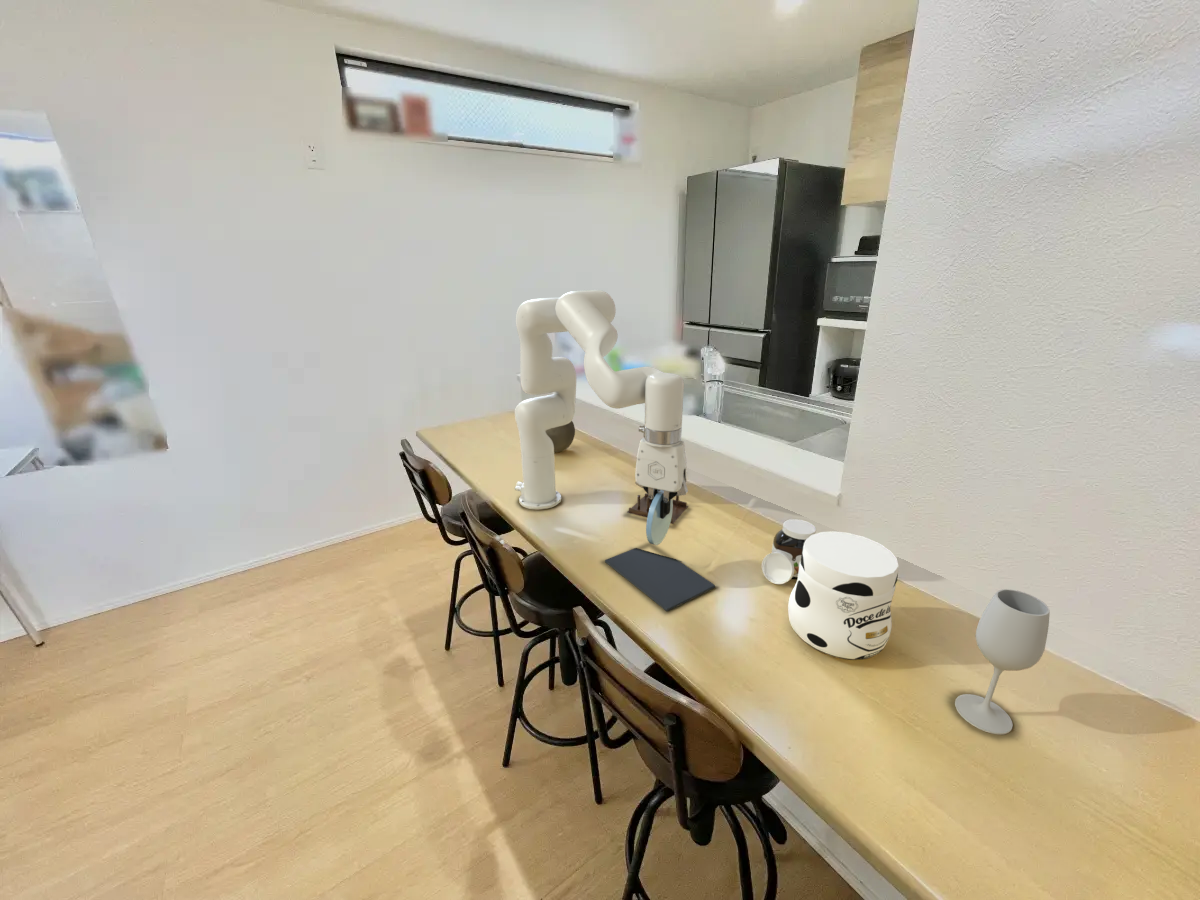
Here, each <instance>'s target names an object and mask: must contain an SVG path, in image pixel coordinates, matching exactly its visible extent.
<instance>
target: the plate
mask: <svg viewBox="0 0 1200 900" xmlns="http://www.w3.org/2000/svg"><path fill="white" fill-rule="evenodd" d="M663 494H664V490H660V491H659V492H658V493H657V494H656V495H655V497H654V499H653V501H652V503H651V506H650V509H649V513H648V517H646V523H645V524H646V526H645V529H646V530H645V534H646V535H645V536H646V539H647V542H648V543H649V544H650V545H654V546H658V545H661V543H662V542H664V539H665V538H666V536H667V534H668V532H669V529H670V526H671V523H670V522H671V518H672V511H673V500H674V498H672V499H671V504H670V513H669V514H667V515H666V517H665V518H664V519H662V518H660V504H661V501H662V500H663Z"/></svg>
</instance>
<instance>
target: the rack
mask: <svg viewBox="0 0 1200 900" xmlns="http://www.w3.org/2000/svg"><path fill="white" fill-rule="evenodd" d="M659 491H660V490H659ZM650 506H651V499H650V498H649V496H648V494H647V492H645V493H644V495H643V497H642V498H641V494H637V501H636V503H635V504H634V505H633V506H631V507H629V508H628V510H627V511H626V513H627V514H630V515H636V516H639V517H642V518H643V517H644V518H647V517H648V513H649V509H650ZM688 508H689V505H688V502H686V501H682V500H680V496H675V499H673V511H672V518H671V522H670V525H671V524H673V525H674V524H675V523H676V522H677V520H678V519H679V518H680V517H681V516H682V515H683V514H684V512H685V511H686V510H687V509H688Z"/></svg>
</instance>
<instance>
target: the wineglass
mask: <svg viewBox="0 0 1200 900" xmlns="http://www.w3.org/2000/svg"><path fill="white" fill-rule="evenodd" d="M1050 615H1051V614H1050V608H1049V606H1048V605H1047V604H1046V603H1045V602H1044V601H1042V600H1041V599H1040V598H1038V597H1036V596H1034V595H1032V594H1029V593H1027V592H1025V591H1021V590H1016V589H1009V588H1003V589H1002V588H1001V589H998V590H997V591H996V592H995V593H994V594H993V596H992V598H991V599H990V600H989V602H988V603H987V605H986V606H985V609H984V611H983V613H982V614H981V616H980V618H979V621H978V623H977V627H976V630H975V636H974V637H975V642H976V646H977V647H978V649H979V651H980V653H981V654H982V656H984V658H985V659H986V660H987V661H988V662H989V663H990V664H991V665H992V666H993V674H992V677H991V679H990V682H989V686H988V688H987V691H986V694H985V696H984V697H983V696H981V695H977V694H971V693H963V694H959V695H958V696H957V697H956V698H955V700H954V707H955V709H956V712H957V713H958V714H959V715H960V717H961V718H962V719H964V721H966V722H967V723H969V724H970V725H971V726H973V727H975V728H976V729H978V730H980V731H983V732H986V733H989V734H992V735H999V736H1000V735H1001V736H1002V735H1007V734H1009V733H1010V732H1011V731H1012V730H1013V720H1012V719H1011V717H1010V716H1009V714H1008V713H1007V712H1006V711H1005V710H1004V709H1003V707H1001V706H1000V705H998V704H996V703H995V702H994V701H992V699H993V695H994V693H995V690H996V688H997V684H998V682H999V680H1000V679H999V678H1000V677H1001V674H1002V673H1003V672H1005V671H1008V672H1011V671H1012V672H1018V671H1024V670H1028V669H1031V668H1032V667H1033V666H1035V665H1037V664H1038V662H1039V661H1040V660H1041V658H1042V657H1043V655H1044V653H1045V649H1046V644H1047V641H1048V640H1047V639H1048V633H1049V626H1050Z"/></svg>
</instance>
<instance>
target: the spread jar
mask: <svg viewBox="0 0 1200 900" xmlns="http://www.w3.org/2000/svg"><path fill="white" fill-rule="evenodd" d="M782 523H783V524H782V529H780V530H778V531H777V532H776V534H775V535H774V537H773V540H772V546H771V552H770V553H768V554H766V555H765V556H764V557H763V559H762V561H761V571H762V574H763V576H764V577H765V579H766V580H768V581H769V582H770V583H772V584H775V585H783V584H786V583H788V582H789V581H791V580H793V581H794V580H795V581H797V579H798V572H799V564H800V560H801V555H802V549H803V546H804V543H805V540H806V539H807V538H809V537H810V536H811V535H813V534H817V533H816V532H817V528H816V526H815V525H814V524H813V523H812V522H809V521H807V520H803V519H800V518H790V519H787V520H785V521H784V522H782Z"/></svg>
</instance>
